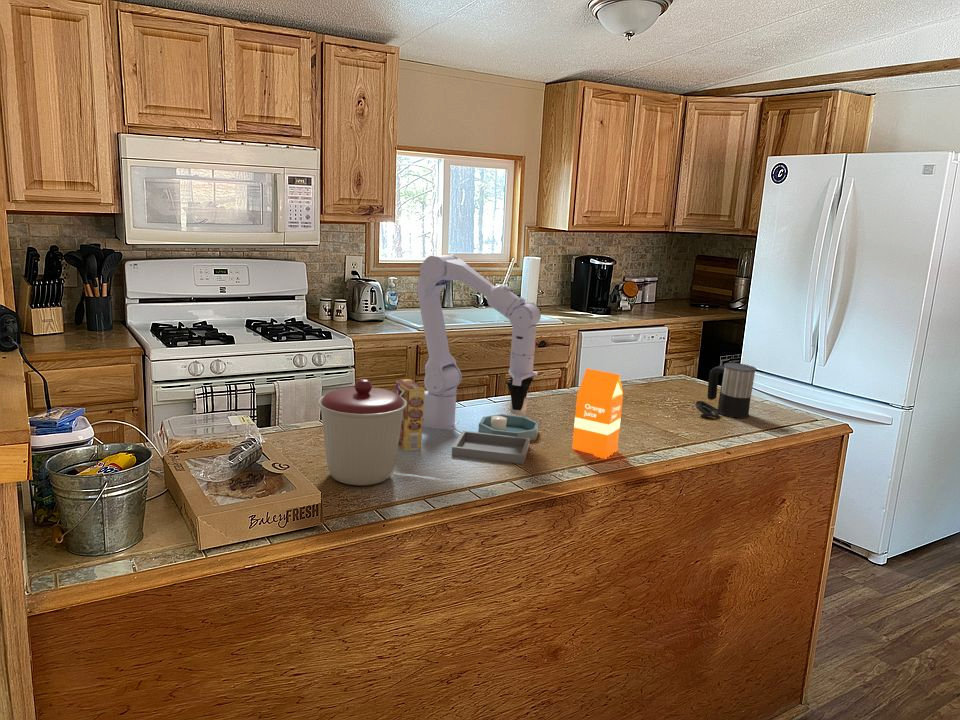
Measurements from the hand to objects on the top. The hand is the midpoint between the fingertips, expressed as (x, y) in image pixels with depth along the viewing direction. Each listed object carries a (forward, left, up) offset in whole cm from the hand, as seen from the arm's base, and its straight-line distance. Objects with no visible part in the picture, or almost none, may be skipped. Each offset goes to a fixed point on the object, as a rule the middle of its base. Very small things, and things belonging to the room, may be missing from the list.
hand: (518, 407), depth 180 cm
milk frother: (+56, +46, -9) cm, 73 cm away
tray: (-4, -10, -9) cm, 14 cm away
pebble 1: (-5, +5, -8) cm, 11 cm away
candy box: (-24, -12, -9) cm, 29 cm away
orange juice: (+20, 0, -9) cm, 22 cm away
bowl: (-2, +5, -9) cm, 10 cm away
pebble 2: (0, 0, -1) cm, 1 cm away
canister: (-28, -34, -9) cm, 45 cm away
